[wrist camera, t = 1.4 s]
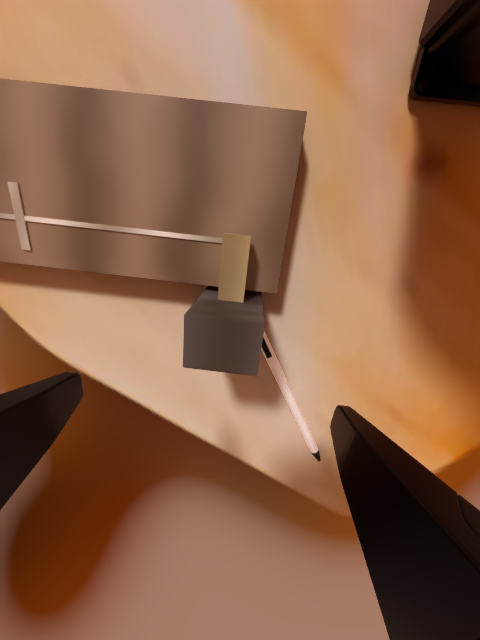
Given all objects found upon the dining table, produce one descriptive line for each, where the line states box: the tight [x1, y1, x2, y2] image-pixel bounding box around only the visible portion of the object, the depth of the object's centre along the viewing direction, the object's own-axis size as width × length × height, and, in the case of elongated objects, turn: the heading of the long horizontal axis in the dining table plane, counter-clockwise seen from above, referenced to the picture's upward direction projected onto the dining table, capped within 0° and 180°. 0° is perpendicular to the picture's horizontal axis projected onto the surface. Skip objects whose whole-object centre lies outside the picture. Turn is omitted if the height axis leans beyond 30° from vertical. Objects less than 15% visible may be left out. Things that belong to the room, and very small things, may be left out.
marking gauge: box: [183, 233, 265, 376], centre depth 15 cm, size 4×7×7 cm, turn 174°
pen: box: [261, 331, 320, 462], centre depth 21 cm, size 1×19×1 cm, turn 25°
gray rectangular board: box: [0, 79, 307, 294], centre depth 16 cm, size 24×10×2 cm, turn 84°
